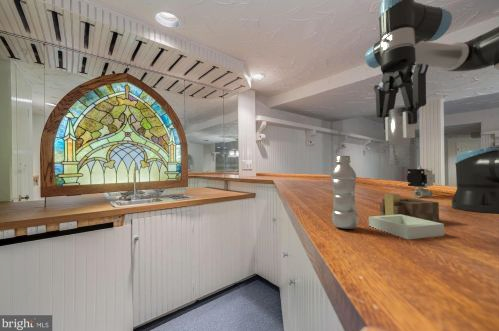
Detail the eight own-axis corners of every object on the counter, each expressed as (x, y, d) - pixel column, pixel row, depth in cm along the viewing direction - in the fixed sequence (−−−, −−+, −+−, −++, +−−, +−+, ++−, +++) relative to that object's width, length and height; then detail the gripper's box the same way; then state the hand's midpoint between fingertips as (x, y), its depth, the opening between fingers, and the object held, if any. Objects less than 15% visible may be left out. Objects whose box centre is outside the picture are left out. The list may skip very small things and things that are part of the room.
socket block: (406, 215, 70) (405, 197, 70) (439, 222, 60) (438, 202, 60) (375, 217, 67) (374, 199, 67) (404, 225, 57) (403, 204, 57)
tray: (400, 223, 59) (400, 214, 59) (444, 235, 48) (443, 223, 48) (369, 226, 56) (368, 216, 56) (407, 239, 46) (407, 227, 46)
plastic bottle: (348, 233, 51) (345, 155, 51) (326, 226, 57) (325, 156, 57) (363, 229, 54) (361, 155, 54) (341, 223, 60) (340, 157, 60)
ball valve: (426, 199, 103) (425, 165, 103) (406, 198, 110) (405, 166, 110) (437, 196, 113) (436, 165, 113) (418, 195, 120) (417, 166, 120)
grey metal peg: (398, 166, 55) (397, 112, 56) (415, 165, 51) (413, 107, 51) (385, 166, 54) (384, 111, 55) (401, 165, 50) (399, 106, 50)
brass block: (391, 218, 64) (390, 193, 64) (400, 220, 61) (399, 194, 61) (385, 218, 63) (384, 193, 64) (393, 220, 61) (392, 194, 61)
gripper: (360, 68, 61) (362, 143, 60) (420, 28, 44) (423, 132, 43) (380, 70, 63) (383, 144, 62) (445, 32, 46) (449, 133, 45)
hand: (399, 139), depth 53 cm, fingers closed on grey metal peg, 4 cm apart
